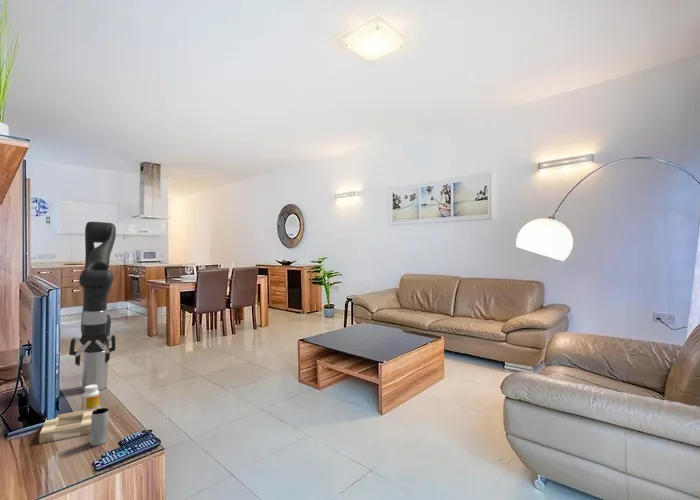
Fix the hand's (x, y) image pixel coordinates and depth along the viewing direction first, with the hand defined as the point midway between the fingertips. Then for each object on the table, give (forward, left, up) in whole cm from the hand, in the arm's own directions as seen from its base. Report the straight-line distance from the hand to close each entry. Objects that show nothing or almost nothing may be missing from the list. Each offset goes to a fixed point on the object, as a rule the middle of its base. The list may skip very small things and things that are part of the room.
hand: (92, 363), depth 134 cm
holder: (+11, -5, -19) cm, 22 cm away
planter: (+26, +4, -19) cm, 32 cm away
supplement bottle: (-2, 0, -19) cm, 19 cm away
